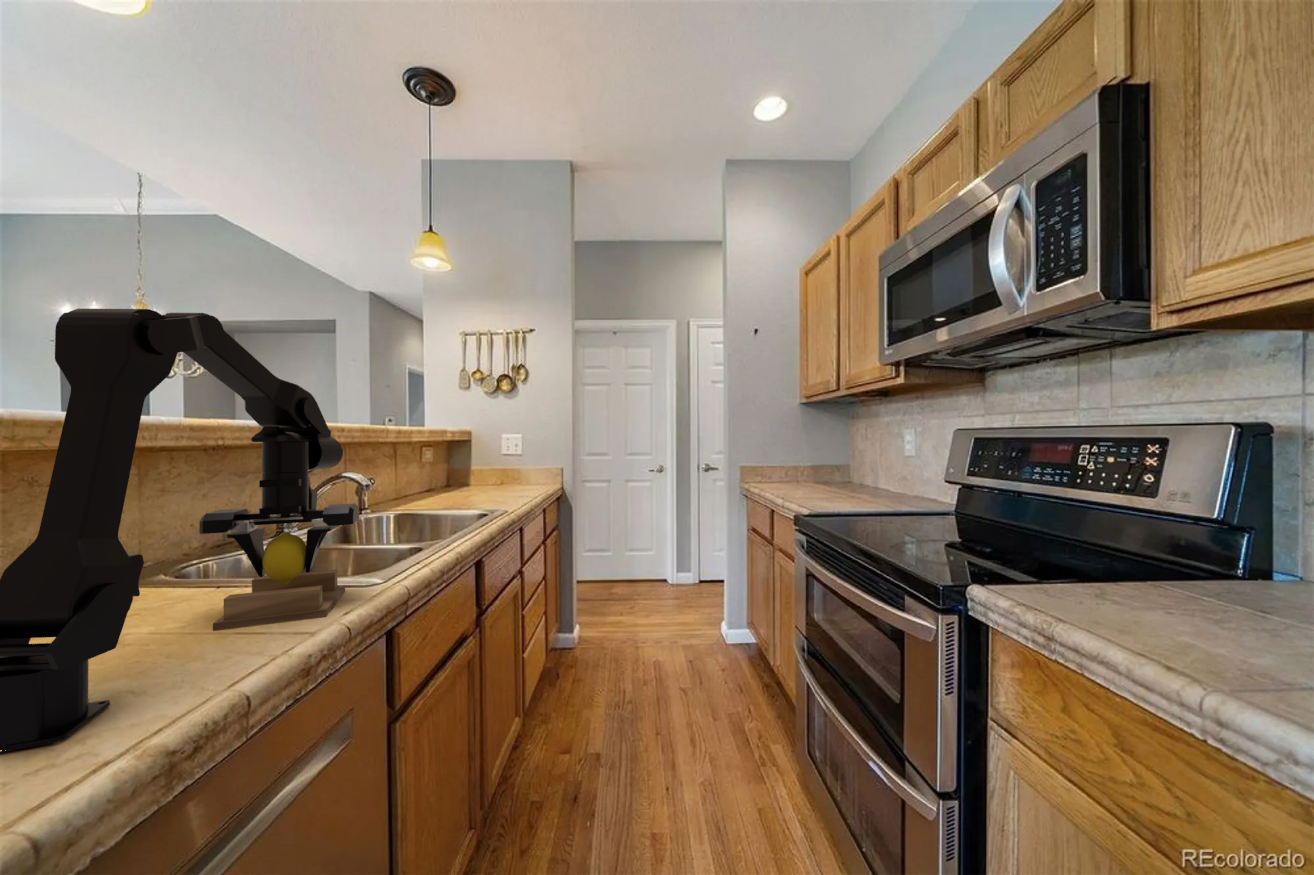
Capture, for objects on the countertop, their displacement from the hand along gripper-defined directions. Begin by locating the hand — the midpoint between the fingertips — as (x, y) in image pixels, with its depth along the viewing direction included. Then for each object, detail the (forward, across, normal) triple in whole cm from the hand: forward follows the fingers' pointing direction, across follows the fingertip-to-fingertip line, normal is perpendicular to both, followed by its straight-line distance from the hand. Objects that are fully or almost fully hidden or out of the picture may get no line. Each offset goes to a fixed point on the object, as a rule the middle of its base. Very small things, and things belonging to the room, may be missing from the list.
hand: (285, 574), depth 74 cm
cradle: (+5, 0, 0) cm, 5 cm away
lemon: (+2, 0, 0) cm, 2 cm away
